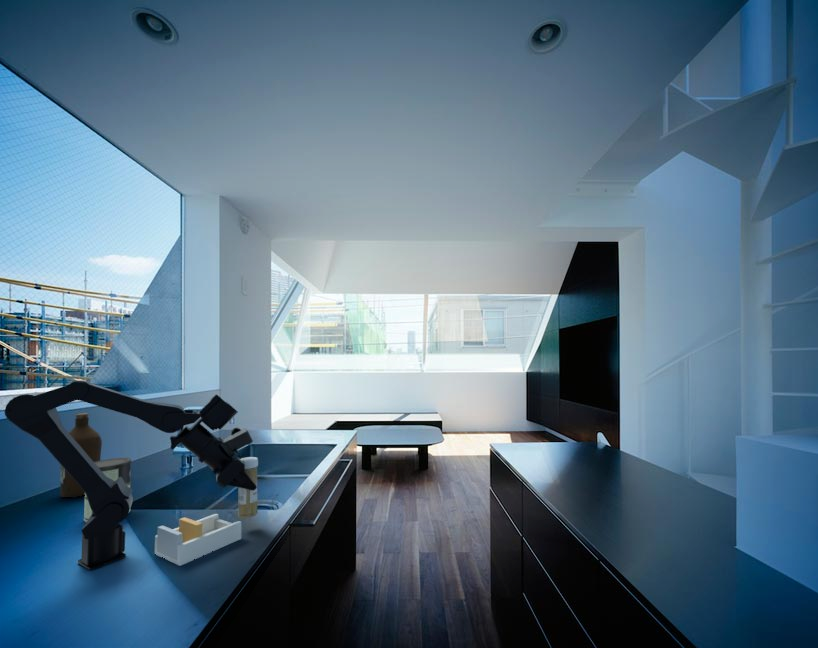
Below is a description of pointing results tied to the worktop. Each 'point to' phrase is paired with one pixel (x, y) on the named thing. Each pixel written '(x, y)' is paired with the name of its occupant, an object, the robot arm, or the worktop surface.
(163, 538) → the tray
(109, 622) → the worktop surface
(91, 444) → the olive oil
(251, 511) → the sprinkles bottle
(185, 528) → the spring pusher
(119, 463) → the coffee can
